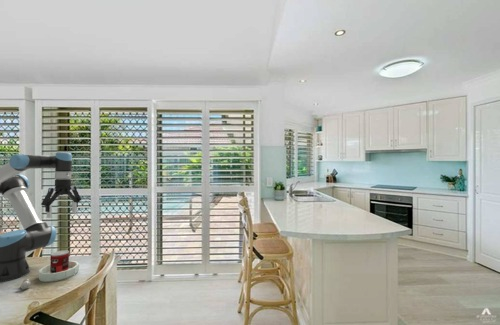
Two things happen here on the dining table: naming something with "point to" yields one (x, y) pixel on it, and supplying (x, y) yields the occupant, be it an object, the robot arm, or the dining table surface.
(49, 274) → the bowl
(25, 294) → the dining table surface
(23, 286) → the pebble
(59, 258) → the canned food
